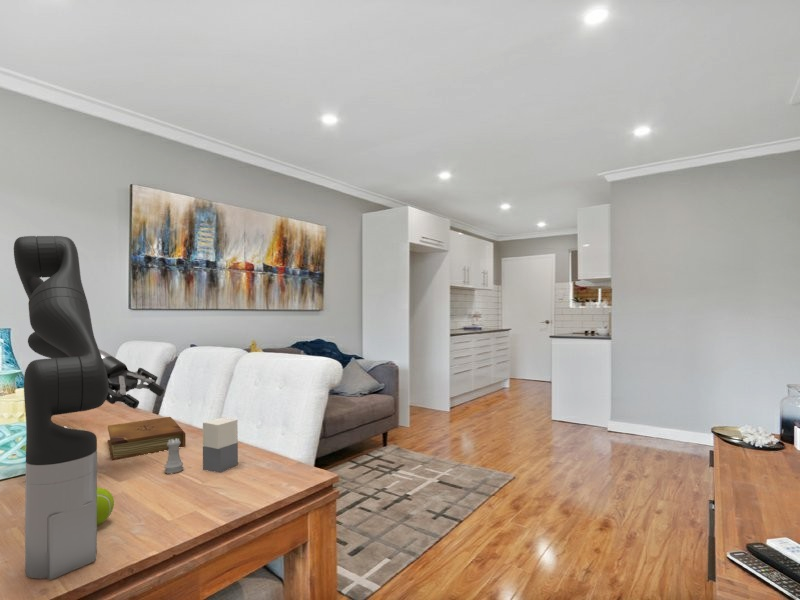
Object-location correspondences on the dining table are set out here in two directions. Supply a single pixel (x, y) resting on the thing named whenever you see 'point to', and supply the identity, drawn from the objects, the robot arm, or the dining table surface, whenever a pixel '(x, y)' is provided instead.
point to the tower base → (220, 458)
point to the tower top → (220, 433)
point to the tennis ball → (104, 504)
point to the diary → (143, 437)
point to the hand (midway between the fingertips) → (150, 399)
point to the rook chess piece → (173, 457)
